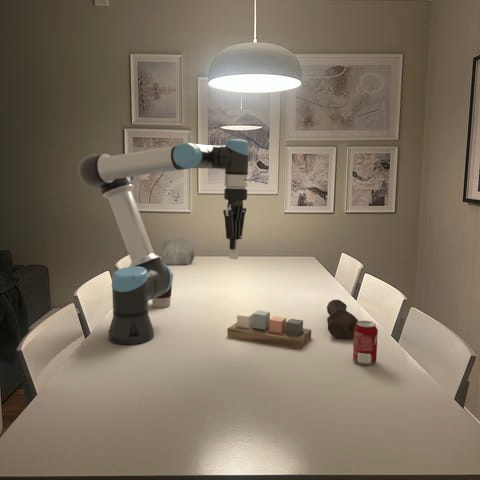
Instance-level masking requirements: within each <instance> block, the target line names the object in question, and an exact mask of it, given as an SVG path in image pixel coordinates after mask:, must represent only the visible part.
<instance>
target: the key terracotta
mask: <svg viewBox="0 0 480 480" xmlns="http://www.w3.org/2000/svg"><path fill="white" fill-rule="evenodd" d="M286 322H287V318H286V317H280V316H273V317H270V320H269V332H275V333H281V334H282V333H283V332H285V331H286Z"/></svg>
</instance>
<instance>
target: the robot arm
mask: <svg viewBox="0 0 480 480" xmlns="http://www.w3.org/2000/svg"><path fill="white" fill-rule="evenodd" d="M249 147H250V146H249V142H248V141H247V140H245V139H226V141H225V144H224V145H210V144H209V145H207V144H201V143H200V144H199V143H193V142H182V143H180V144H178V145H172V146H166V147H165V146H164V147H159V148H154V149H153V148H152V149H147V150H140V151H136V152H135V151H134V152H128V153H122V154H108V153H101V154H97V153H94V154H89V155H86V156H85V157H84V158H82V160H80V162H79V165H78V171H77V172H78V176H79V179H80V180H81V181H82V182H83V184H85V185H86V186H87V187H89V188H94V189H100V192H101V194H102V197H104V199H105V198H106V199H108V201H109V204H110V206H111V209H112V212H113V215H114V217H115V220H116V222H117V223H116V224H117V226H118V229H119V232H120V234H121V237H122V239H123V241H124V245H125V248H126V250H127V254H128V256H129V259H130V261H131V262H130V264H129V266H128V267H122V268H119V269H117V270H115V271H114V272H113V274H112V279H111V288H112V292H111V293H112V318H111V319H112V320H111V323H110V326H109V330H108V333H107V334H108V340H109V342H111V343H113V344H117V345H124V346H126V345H139V344H143V343H147V342H149V341H151V340H152V339H153V338H154V337H155V329H154V327H153V324H152V321H151V318H150V315H149V301H152V299H154V298H156V297H159V296H161V295H163V294H164V293H166V292H167V291H168V290H169V289H170V287H171V285H172V286H173V281H174V275H173V276H172V274H173V272H172V270H171V268H170V267H169V265H165V264H164V263H162V260H161V255H158V254H156V253H155V251H154V249H153V246H152V244H151V241H150V238H149V236H148V233H147V230H146V227H145V224H144V222H143V220H142V217H141V213H140V211H139V208H138V205H137V202H136V200H135V197H134V194H133V190H134V188H135V185H134V182H133V181H134V180H135V179H134V178H135V177H138V176H139V177H140V176H144V175H152V174H161V173H166V172H174V171H182V170H189V169H202V170H203V169H211V170H212V169H218V170H219V169H221V170H224V187H225V188H224V190H223V191H224V192H223V193H224V194H223V197H224V200H227V205H226V209H223V212H222V213H223V216H224V227H225V238H226V240H229V241H228V242H229V245H228V246H229V248H228V259H230V260H239V246H240V245H239V242H240V240H242V239H243V237H242V236H243V231H244V224H245V217H246V213H247V208H246V207H244V203H243V202H244V201H247V199H248V189H247V187H248V182H249V179H250V178H248V177H249V157H250V153H249V152H250V150H249Z"/></svg>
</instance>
